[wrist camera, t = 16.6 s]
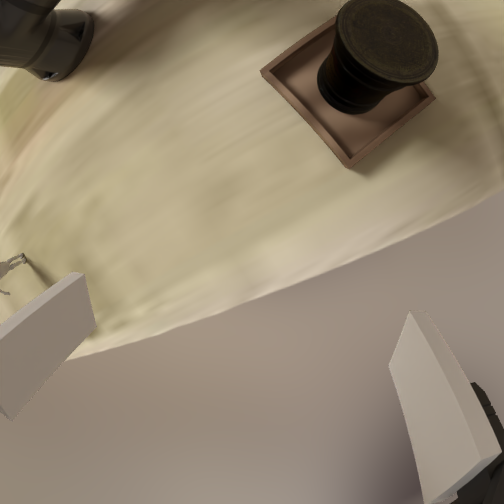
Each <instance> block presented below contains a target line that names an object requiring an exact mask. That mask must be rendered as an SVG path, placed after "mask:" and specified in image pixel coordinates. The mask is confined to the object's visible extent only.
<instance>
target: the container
mask: <svg viewBox="0 0 504 504" xmlns="http://www.w3.org/2000/svg"><path fill="white" fill-rule="evenodd" d="M335 32H336V33H335V36H334V41H333V46H332V49H331V52H330V53H329V55H328V56H327V57H326V58H325V60H324V61H323V63H322V64H321V66H320V67H319V70H318V73H317V85H318V89H319V91H320V94H321V95H322V97H323V98H324V100H325V101H326V102H327V103H328V104H329V105H330V106H332V107H333V108H334V109H336V110H338V111H340V112H343V113H346V114H353V115H355V114H363V113H366V112H368V111H370V110H372V109H373V108H375V107H376V106H377V105H378V104H379V103H380V102H381V100H383V99H384V98H385V96H387V95H389V94H390V93H392V92H394V91H398V90H400V89H403V88H404V87H406V86H413V85H416V84H419V83H421V82H423V81H425V80H426V79H427V78H428V77H429V76H430V75H431V74H432V73H433V71H434V70H435V68H436V65H437V62H438V46H437V42H436V39H435V36H434V34H433V32H432V30H431V28H430V27H429V25H428V24H427V23H426V21H425V20H424V19H423V18H422V17H421V16H420V15H419V14H418V13H417V12H416V11H415V10H413V9H412V8H411V7H409V6H408V5H406V4H404V3H403V2H401V1H398V0H350V1H348V2H347V3H346V4H345V5H344V6H343V7H342V8H341V9H340V11H339V12H338V14H337V17H336V21H335Z"/></svg>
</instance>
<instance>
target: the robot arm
mask: <svg viewBox="0 0 504 504" xmlns="http://www.w3.org/2000/svg"><path fill="white" fill-rule="evenodd" d="M60 1H61V0H0V66H4V67H15V68H23V69H25V70H27V71H28V72H30V73H31V74H33V75H34V76H36V77H37V78H39V79H41V80H44V81H51V82H54V81H58V80H61V79H63V78H64V77H66V76H67V75H68V74H70V73H71V72H72V71H73V70H74V69H75V68H76V67H77V65H78V64H79V63H80V61H81V60H82V58H83V57H84V55H85V54H86V52H87V50H88V48H89V45H90V43H91V40H92V37H93V32H94V23H93V19H92V17H91V16H90V15H89V14H88V13H86V12H83V11H81V10H78V9H58V10H54V8H55V7H56V5H57V4H58V3H59V2H60ZM96 327H97V326H96V322H95V318H94V314H93V310H92V306H91V302H90V297H89V293H88V288H87V283H86V278H85V274H82V273H77V272H71V273H70V274H68V275H67V276H65V277H64V278H63V279H61V280H60V281H58V282H57V283H55V284H54V285H53V286H51V287H50V288H48V289H47V290H46V291H44V292H43V293H41V294H40V295H39V296H37V297H36V298H34V299H33V300H32V301H30V302H29V303H28V304H26V305H25V306H24V307H22V308H21V309H20V310H19V311H17V312H16V313H15V314H13V315H12V316H11V317H9V318H8V319H7V320H6V321H4V322H3V323H2V324H1V325H0V412H1V413H2V414H4V416H6V417H7V418H8V419H9V420H11V421H13V420H14V419H15V417H16V416H17V415H18V414H19V412H20V411H21V410H22V409H23V408H24V406H25V405H26V404H27V403H28V402H29V401H30V399H31V398H32V397H33V396H34V395H35V393H36V392H37V391H38V390H39V389H40V388H41V387H42V385H43V384H44V383H45V382H46V381H47V380H48V379H49V377H50V376H51V375H52V374H53V373H54V372H55V371H56V370H57V369H58V367H59V366H60V365H61V364H62V363H63V362H64V361H65V360H66V359H67V358H68V357H69V355H70V354H71V353H72V352H73V351H74V350H75V349H76V348H77V347H78V346H79V345H80V344H81V343H82V342H83V341H84V339H85V338H86V337H87V336H88V335H89V334H90V333H91V332H92V331H93V330H94V329H95V328H96ZM388 366H389V369H390V372H391V375H392V378H393V381H394V384H395V387H396V390H397V394H398V397H399V400H400V403H401V407H402V410H403V414H404V417H405V421H406V425H407V428H408V432H409V436H410V440H411V443H412V447H413V452H414V456H415V460H416V464H417V469H418V474H419V478H420V483H421V488H422V494H423V499H424V504H434V503H438V502H441V501H444V500H446V499H447V498H449V497H450V496H452V495H453V494H454V493H456V492H457V495H458V498H457V499H456V500H455V501H453V502H452V503H450V504H504V429H503V427H502V424H501V423H500V420H499V418H498V416H497V415H495V413H496V412H495V410H494V408H493V406H491V403H490V401H489V399H488V397H487V395H486V393H485V392H484V391H483V390H482V389H481V388H480V387H479V386H478V385H477V384H476V383H475V382H474V383H469V381H468V379H467V378H466V376H465V374H464V372H463V370H462V369H461V367H460V365H459V363H458V361H457V360H456V358H455V357H454V355H453V354H452V351H451V350H450V348H449V346H448V345H447V343H446V341H445V340H444V338H443V337H442V335H441V334H440V332H439V330H438V329H437V327H436V326H435V324H434V323H433V321H432V320H431V318H430V317H429V315H428V314H427V312H426V311H411V310H410V311H409V313H408V316H407V318H406V321H405V324H404V327H403V330H402V333H401V335H400V338H399V341H398V343H397V346H396V349H395V351H394V353H393V356H392V358H391V361H390V363H389V365H388Z"/></svg>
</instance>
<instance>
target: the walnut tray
mask: <svg viewBox="0 0 504 504" xmlns="http://www.w3.org/2000/svg"><path fill="white" fill-rule="evenodd" d="M336 17H337V16H335V17H334V18H332V19H330V20H329V21H327V22H326V23H324V24H323V25H321V26H320V27H318V28H317V29H315V30H314V31H312V32H311V33H309V34H308V35H306V36H305V37H303V38H302V39H301V40H299V41H298V42H296V43H295V44H294V45H292V46H291V47H290V48H288V49H287V50H285V51H284V52H283V53H282V54H280V55H279V56H278V57H276V58H275V59H274V60H272V61H271V62H270V63H269V64H267V65H266V66H265V67H264V68H262V69H261V70H260V73H261V75H262V77H263V78H264V79H265V80H266V81H267V82H268V83H270V84H271V85H272V86H273V87H274V88H275V89H276V90H277V91H278V92H279V93H280V94H281V95H282V96H283V97H284V98H285V99H286V101H287V102H288V103H289V104H290V105H291V106H292V107H293V108H294V109H295V110H296V111H297V112H298V113H299V114H300V115H301V116H302V117H303V119H304V120H305V121H306V122H307V123H308V124H309V125H310V126H311V127H312V128H313V130H314V131H315V132H316V133H317V134H318V135H319V136H320V138H321V139H322V140H323V141H324V142H325V143H326V145H327V146H328V147H329V148H330V149H331V150H332V152H333V153H334V154H335V155H336V157H337V158H338V159H339V160H340V161H341V163H342V164H343V165H344V166H345V168H349V169H350V168H351V167H352V166H353V165H355V164H356V163H357V162H358V161H360V160H361V159H362V158H363V157H364V156H366V155H367V154H368V153H369V152H371V151H372V150H373V149H374V148H376V147H377V146H378V145H379V144H381V143H382V142H383V141H384V140H386V139H387V138H388V137H389V136H390V135H392V134H393V133H394V132H395V131H397V130H398V129H399V128H400V127H402V126H403V125H404V124H405V123H407V122H408V121H409V120H410V119H412V118H413V117H414V116H415V115H416V114H418V113H419V112H420V111H421V110H423V109H424V108H425V107H426V106H428V105H429V104H430V103H431V102H433V101H434V100H435V99H436V98H435V97H434V95H433V94H432V92H431V91H430V90H429V88H428V87H427V86H426V84H425V83H424V82H421V83H419V84H416V85H413V86H406V87H404V88H403V89H400V90H398V91H394V92H392V93H390V94H389V95H387V96H385V98H384V99H383V100H381V102H380V103H379V104H378V105H377V106H376V107H375V108H373V109H372V110H370V111H368V112H366V113H363V114H355V115H353V114H346V113H343V112H340V111H338V110H336V109H334V108H333V107H332V106H330V105H329V104H328V103H327V102H326V101H325V100H324V98H323V97H322V95H321V94H320V91H319V89H318V85H317V73H318V70H319V67H320V66H321V64H322V63H323V61H324V60H325V58H326V57H327V56H328V55H329V53H330V52H331V49H332V46H333V41H334V36H335V33H336V32H335V21H336Z"/></svg>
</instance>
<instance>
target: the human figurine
mask: <svg viewBox="0 0 504 504" xmlns="http://www.w3.org/2000/svg"><path fill="white" fill-rule="evenodd" d="M19 257H20V258H21V259H22V257H23V253H21V254H20V255H18V256H15V257H12V258H10V259H8V260H7V261H6V262H0V279H1V278H2V277H3V276H4V275H6V274H7V273H8V271H9V270H12V269H14V268H15V267H16V266H18V265H19V264H21V263H22V262H23V264H24V263H25V261H26V259H25V258H24V259H23V260H22V261H19V262H16V263H14V264H12V265H10V267H9V264H10V263H11V262H12V261H13V260H15V259H17V258H19ZM0 292H1V293H4V295H5V294H7V295H10V293H9V292H4V291H2V290H0Z"/></svg>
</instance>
